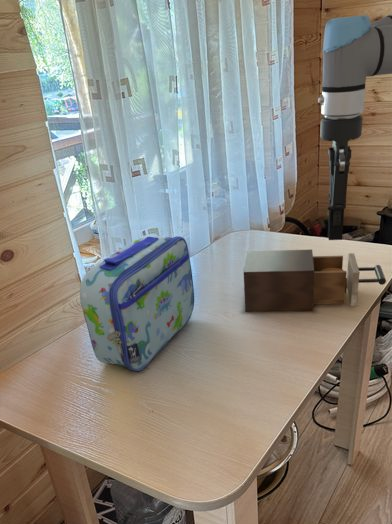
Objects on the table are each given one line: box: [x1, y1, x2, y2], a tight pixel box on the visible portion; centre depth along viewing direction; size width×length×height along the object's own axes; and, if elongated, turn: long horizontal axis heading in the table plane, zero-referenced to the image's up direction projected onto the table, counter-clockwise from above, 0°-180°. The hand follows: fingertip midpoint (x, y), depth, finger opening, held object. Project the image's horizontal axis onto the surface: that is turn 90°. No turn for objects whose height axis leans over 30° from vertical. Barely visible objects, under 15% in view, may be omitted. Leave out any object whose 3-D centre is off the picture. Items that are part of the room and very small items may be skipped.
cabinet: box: [243, 249, 314, 313], centre depth 115 cm, size 15×12×10 cm
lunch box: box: [79, 234, 195, 372], centre depth 100 cm, size 26×11×21 cm, turn 150°
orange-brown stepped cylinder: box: [321, 268, 348, 295], centre depth 113 cm, size 6×6×4 cm
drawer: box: [313, 252, 387, 307], centre depth 112 cm, size 19×10×8 cm, turn 81°
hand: (334, 237), depth 107 cm, fingers closed
